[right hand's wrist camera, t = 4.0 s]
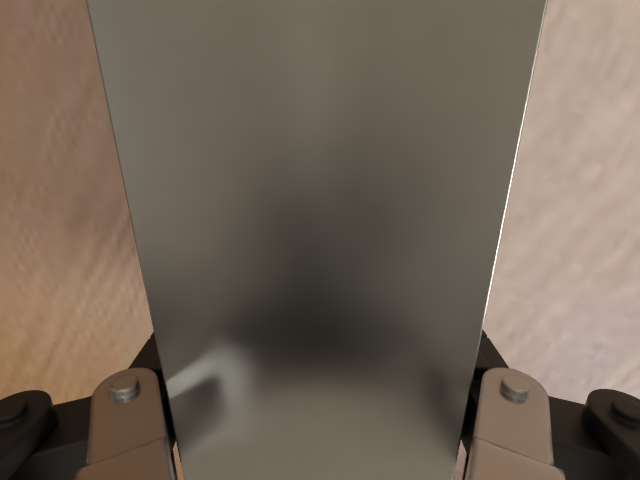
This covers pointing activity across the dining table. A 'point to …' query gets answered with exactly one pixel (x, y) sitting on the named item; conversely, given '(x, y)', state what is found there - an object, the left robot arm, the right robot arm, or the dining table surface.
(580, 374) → the dining table surface
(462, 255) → the box
